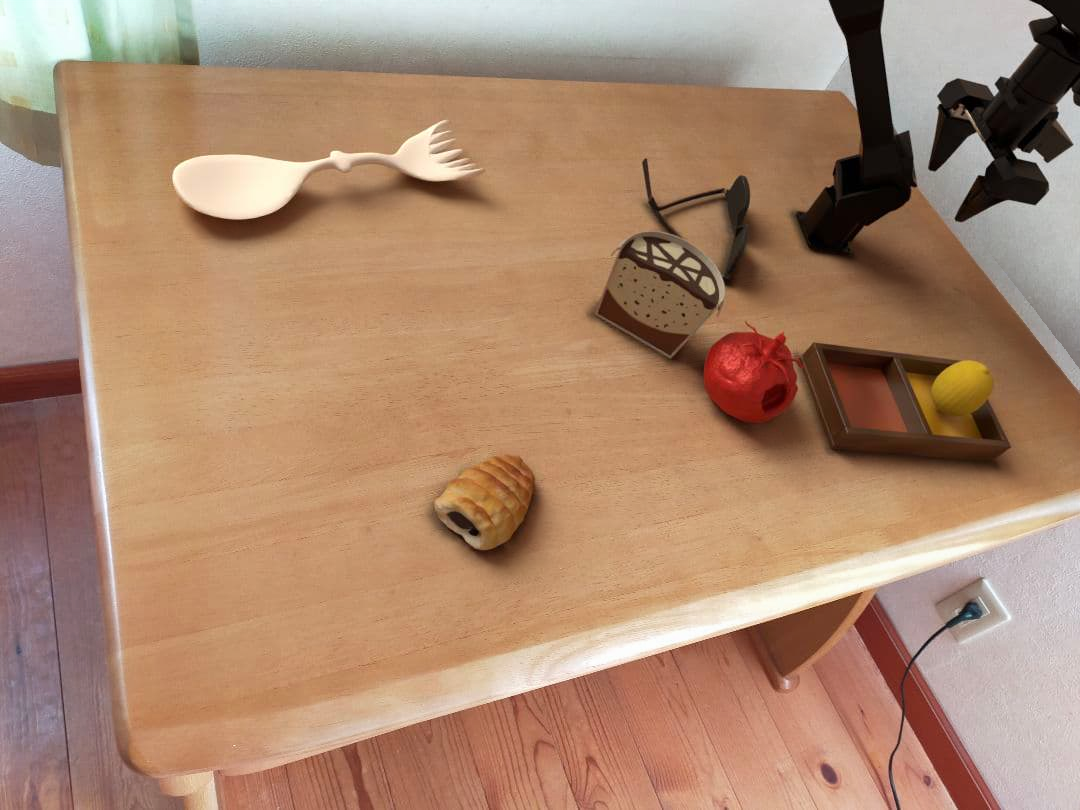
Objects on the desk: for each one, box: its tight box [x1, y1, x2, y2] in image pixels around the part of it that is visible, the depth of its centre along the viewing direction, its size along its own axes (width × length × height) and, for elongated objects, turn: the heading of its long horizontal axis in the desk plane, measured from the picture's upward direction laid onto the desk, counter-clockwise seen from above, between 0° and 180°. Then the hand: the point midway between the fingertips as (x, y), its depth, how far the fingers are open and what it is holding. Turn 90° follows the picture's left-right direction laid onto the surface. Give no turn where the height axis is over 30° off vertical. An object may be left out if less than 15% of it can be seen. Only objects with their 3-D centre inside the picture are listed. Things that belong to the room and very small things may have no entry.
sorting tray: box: [798, 341, 1012, 462], centre depth 99 cm, size 22×12×3 cm, turn 97°
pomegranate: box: [703, 320, 804, 424], centre depth 90 cm, size 10×10×9 cm
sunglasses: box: [641, 157, 751, 283], centre depth 106 cm, size 17×14×5 cm
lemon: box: [931, 359, 995, 416], centre depth 98 cm, size 6×6×8 cm
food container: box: [594, 230, 726, 360], centre depth 91 cm, size 12×6×10 cm, turn 65°
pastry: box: [433, 454, 536, 551], centre depth 74 cm, size 9×7×4 cm
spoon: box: [171, 119, 486, 220], centre depth 91 cm, size 9×32×4 cm, turn 122°
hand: (944, 195), depth 108 cm, fingers open, 9 cm apart
